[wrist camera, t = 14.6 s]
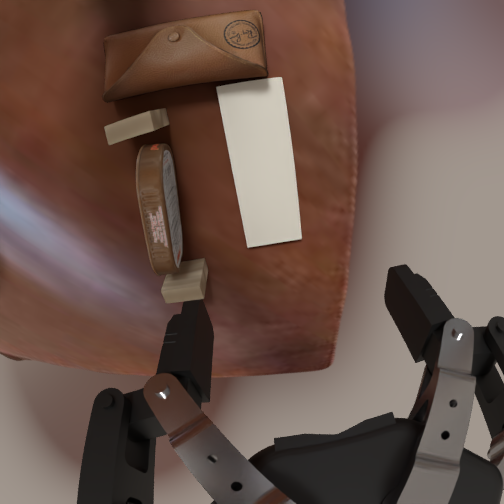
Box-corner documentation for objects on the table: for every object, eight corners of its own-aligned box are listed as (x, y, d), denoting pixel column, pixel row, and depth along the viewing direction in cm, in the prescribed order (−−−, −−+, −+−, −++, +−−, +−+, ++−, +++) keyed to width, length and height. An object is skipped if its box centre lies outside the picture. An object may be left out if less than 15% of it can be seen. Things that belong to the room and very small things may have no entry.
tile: (216, 87, 26) (216, 86, 25) (280, 77, 26) (281, 77, 25) (247, 244, 36) (247, 247, 36) (300, 236, 36) (301, 239, 35)
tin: (151, 139, 29) (124, 154, 22) (177, 136, 29) (157, 149, 22) (167, 251, 37) (151, 290, 29) (189, 250, 37) (178, 290, 30)
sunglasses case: (262, 5, 20) (271, 28, 18) (263, 54, 26) (270, 85, 24) (99, 38, 20) (79, 68, 18) (118, 79, 27) (105, 113, 24)
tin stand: (126, 120, 27) (104, 126, 22) (165, 108, 27) (149, 110, 22) (174, 275, 39) (166, 303, 33) (208, 270, 38) (204, 298, 33)
